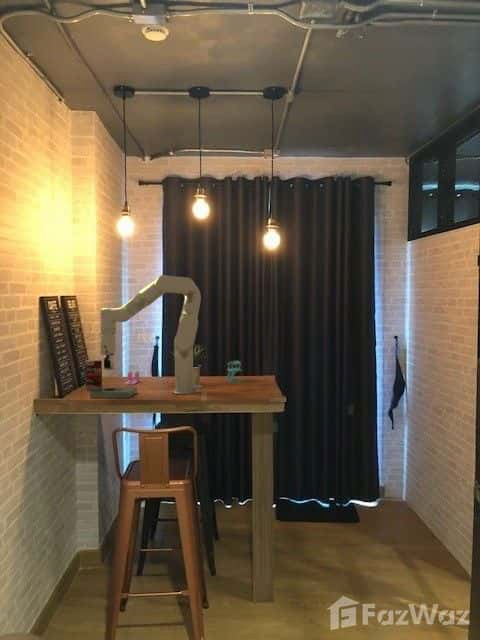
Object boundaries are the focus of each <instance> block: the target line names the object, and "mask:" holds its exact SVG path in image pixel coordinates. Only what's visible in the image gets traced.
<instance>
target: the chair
mask: <svg viewBox="0 0 480 640" xmlns="http://www.w3.org/2000/svg"><path fill="white" fill-rule="evenodd" d="M230 365H231V367H230ZM241 365H242V362H241V361H239V360H231V361H230V362H228V363H227V366H228V368H226V369H227V370H226V371H228V372H227V379H226V381H227V382H228V383H234V382H235V383H238V382H239V383H240V382H242V383H243V382H244V379H242V378H240V377H235V378H233V377H234V376H235V374H236V373H238V372H242V370H243V369H242V368H241ZM234 366H235V367H234ZM236 379H238V380H236Z"/></svg>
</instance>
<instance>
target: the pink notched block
mask: <svg viewBox="0 0 480 640" xmlns="http://www.w3.org/2000/svg"><path fill="white" fill-rule="evenodd" d="M132 372H133V371H132V370H128V372H127V381H126V382H124V387H134V386H135V385H136V383H137V384H138V383H139V382H140V374H139V373H140V372H139V370H135V371H134V379H133V373H132Z"/></svg>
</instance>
